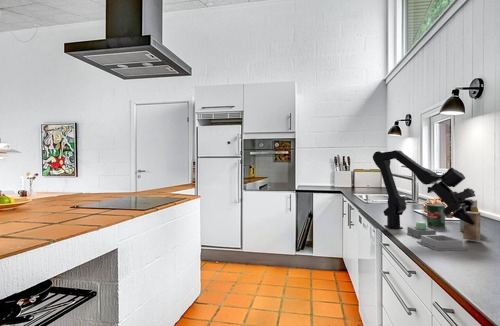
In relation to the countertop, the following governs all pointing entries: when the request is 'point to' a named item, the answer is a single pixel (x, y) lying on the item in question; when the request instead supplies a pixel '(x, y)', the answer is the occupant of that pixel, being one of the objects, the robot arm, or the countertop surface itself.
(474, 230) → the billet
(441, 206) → the canned tomato
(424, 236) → the grey square socket
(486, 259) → the countertop surface
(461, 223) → the bottle
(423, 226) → the button
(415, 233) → the switch box
